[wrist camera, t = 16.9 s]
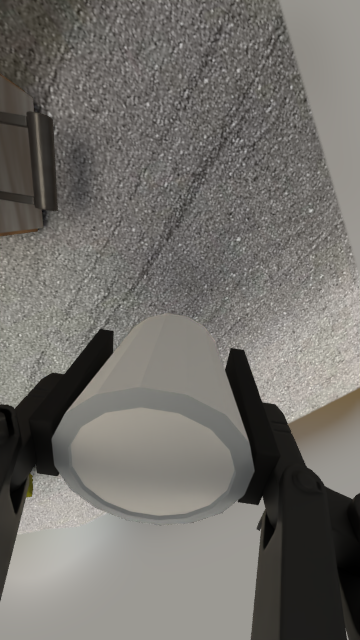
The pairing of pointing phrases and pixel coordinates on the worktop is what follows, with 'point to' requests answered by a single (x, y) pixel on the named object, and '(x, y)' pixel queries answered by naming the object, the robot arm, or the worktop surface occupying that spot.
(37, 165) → the drawer
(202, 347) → the white cup
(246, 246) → the worktop surface
